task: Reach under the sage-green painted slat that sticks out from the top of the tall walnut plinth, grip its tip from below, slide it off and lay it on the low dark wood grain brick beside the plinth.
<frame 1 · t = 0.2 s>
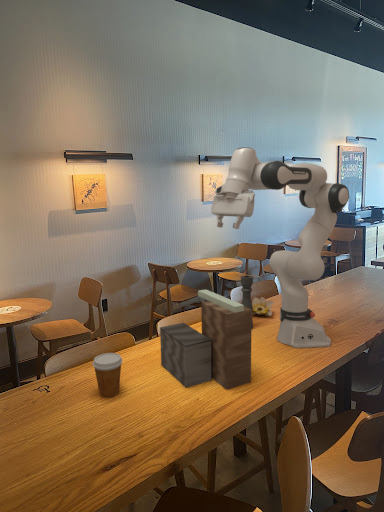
hand: (227, 227, 139), 52 cm above the table, tool tilted 20°, fingers open, 8 cm apart
dark wood grain brick: (185, 372, 140), on the table
slat: (219, 302, 135), point 26 cm above the table, touching plinth
candle holder: (246, 327, 184), on the table
plinth: (225, 376, 136), on the table
decorative flower: (258, 315, 202), on the table
disposable coffee cup: (109, 393, 126), on the table
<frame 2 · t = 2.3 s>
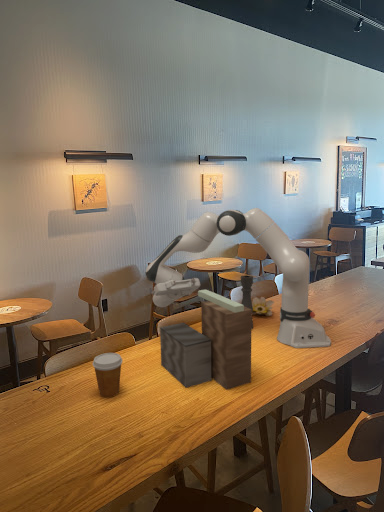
hand: (184, 281, 157), 29 cm above the table, tool pointing upward, fingers open, 8 cm apart
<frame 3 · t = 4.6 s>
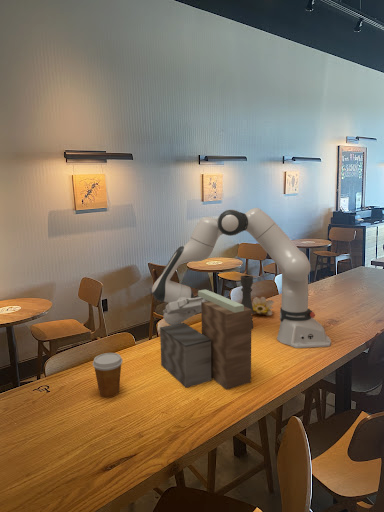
hand: (197, 299, 149), 24 cm above the table, tool pointing upward, fingers open, 8 cm apart
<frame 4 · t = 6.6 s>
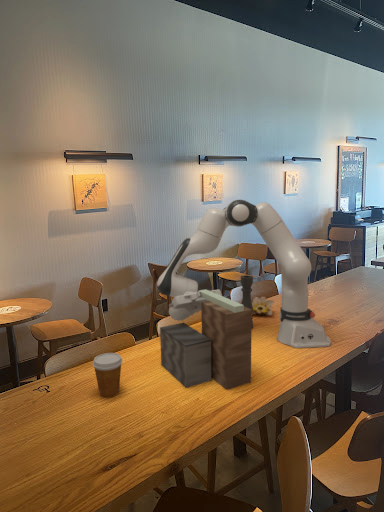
hand: (205, 293, 143), 27 cm above the table, tool pointing upward, fingers closed on slat, 3 cm apart
slat: (219, 302, 135), point 26 cm above the table, touching gripper, plinth
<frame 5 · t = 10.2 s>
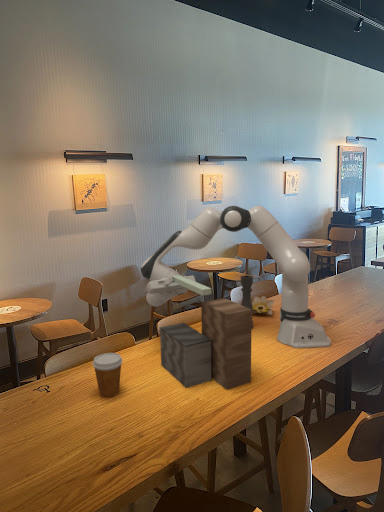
hand: (178, 278, 148), 32 cm above the table, tool pointing upward, fingers closed on slat, 3 cm apart
slat: (190, 287, 141), point 30 cm above the table, touching gripper
when the fingers open (18 cm above the table, at t = 14.1 s): slat drops 2 cm, resting on dark wood grain brick.
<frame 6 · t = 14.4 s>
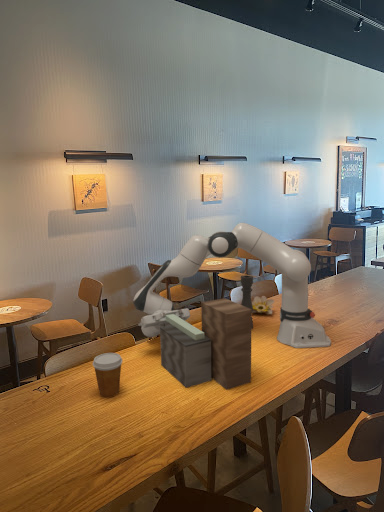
hand: (172, 313, 149), 18 cm above the table, tool pointing upward, fingers open, 6 cm apart
slat: (183, 328, 142), point 15 cm above the table, touching dark wood grain brick
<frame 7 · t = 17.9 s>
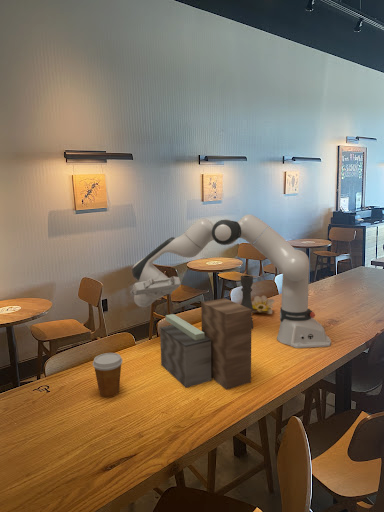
hand: (163, 279, 154), 30 cm above the table, tool pointing upward, fingers open, 8 cm apart
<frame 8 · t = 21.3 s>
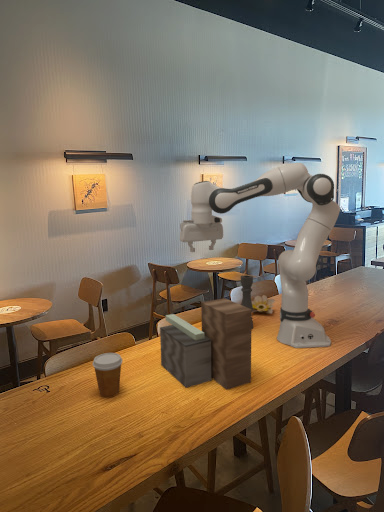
hand: (202, 251, 168), 39 cm above the table, tool pointing down, fingers open, 8 cm apart
at the end: slat inside the target area on the dark wood grain brick (0.3 cm from its centre), point 15.0 cm above the dark wood grain brick's base; slat touching dark wood grain brick; the gripper is holding nothing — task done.
